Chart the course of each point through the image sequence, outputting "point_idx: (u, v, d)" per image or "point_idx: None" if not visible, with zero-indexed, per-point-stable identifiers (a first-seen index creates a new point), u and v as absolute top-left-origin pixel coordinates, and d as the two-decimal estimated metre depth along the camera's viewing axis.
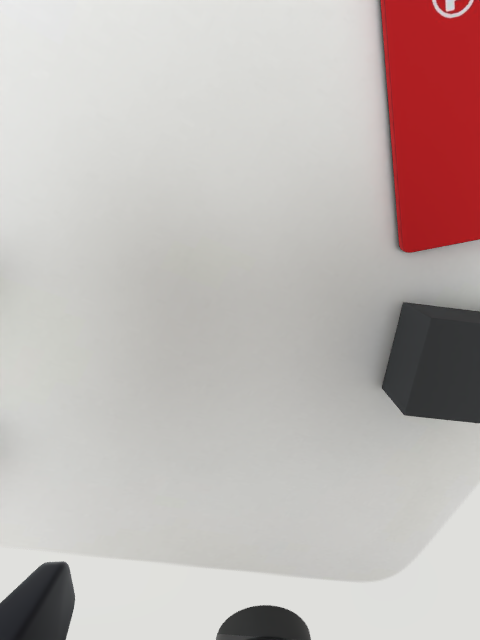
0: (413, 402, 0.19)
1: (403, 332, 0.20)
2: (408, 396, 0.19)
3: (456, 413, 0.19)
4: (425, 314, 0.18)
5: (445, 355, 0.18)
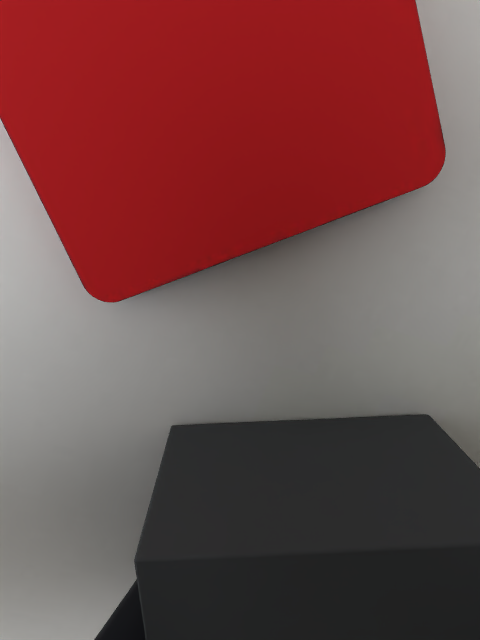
0: None
1: None
2: None
3: None
4: (147, 520, 0.05)
5: None
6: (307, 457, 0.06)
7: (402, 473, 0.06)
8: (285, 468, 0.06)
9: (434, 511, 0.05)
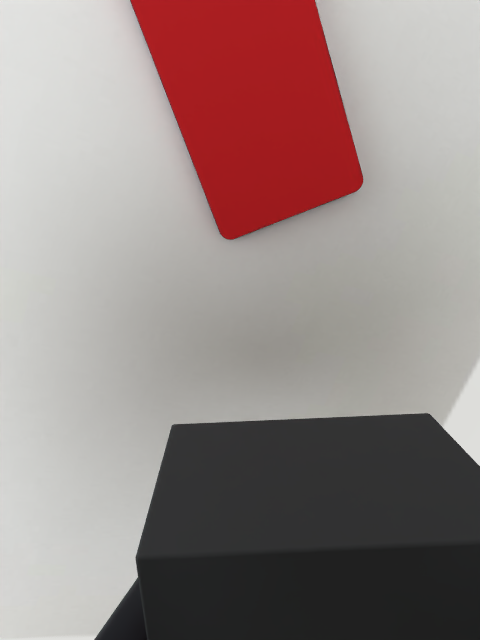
0: None
1: None
2: None
3: None
4: (149, 518, 0.05)
5: None
6: (308, 456, 0.06)
7: (402, 471, 0.06)
8: (286, 467, 0.06)
9: (435, 510, 0.05)
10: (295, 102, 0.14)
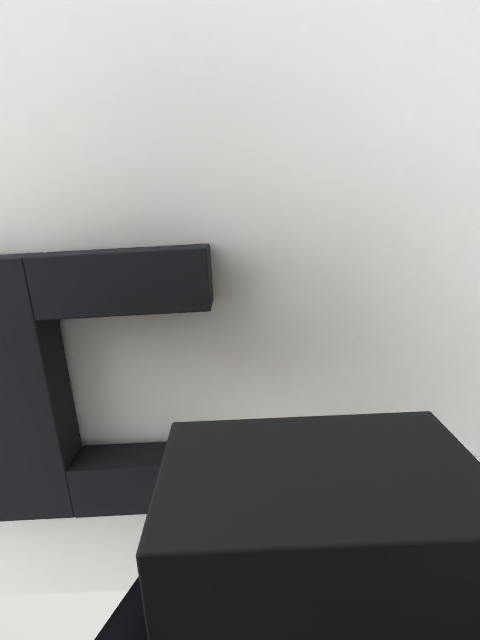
0: None
1: None
2: None
3: None
4: (149, 516, 0.05)
5: None
6: (309, 453, 0.06)
7: (404, 468, 0.06)
8: (287, 464, 0.06)
9: (437, 507, 0.05)
10: None
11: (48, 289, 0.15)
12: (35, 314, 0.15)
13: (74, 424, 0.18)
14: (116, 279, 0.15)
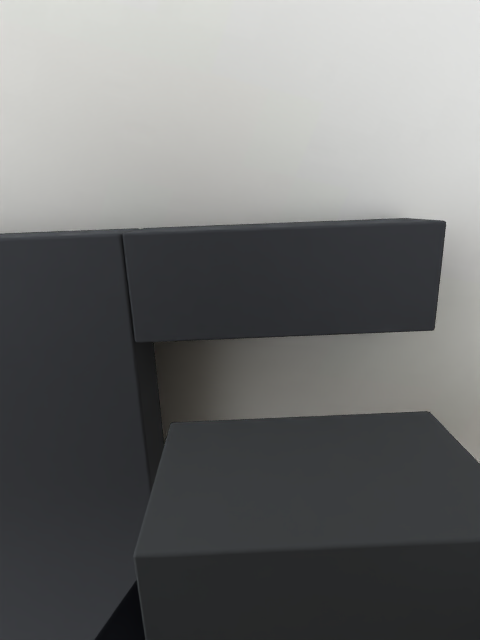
0: None
1: None
2: None
3: None
4: (147, 516, 0.05)
5: None
6: (307, 453, 0.06)
7: (402, 469, 0.06)
8: (285, 464, 0.06)
9: (435, 507, 0.05)
10: None
11: (163, 290, 0.09)
12: (136, 332, 0.09)
13: None
14: (282, 275, 0.09)
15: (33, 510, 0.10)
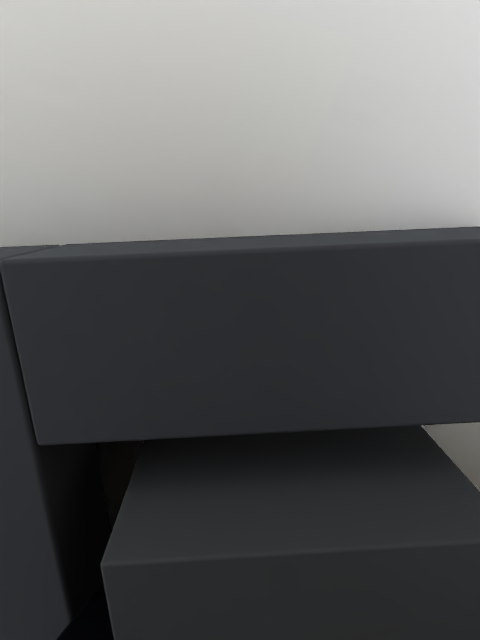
0: None
1: None
2: None
3: None
4: (117, 523, 0.05)
5: None
6: (284, 456, 0.06)
7: (379, 471, 0.06)
8: (261, 468, 0.06)
9: (408, 509, 0.05)
10: None
11: (80, 359, 0.05)
12: (38, 430, 0.05)
13: None
14: (291, 331, 0.05)
15: None
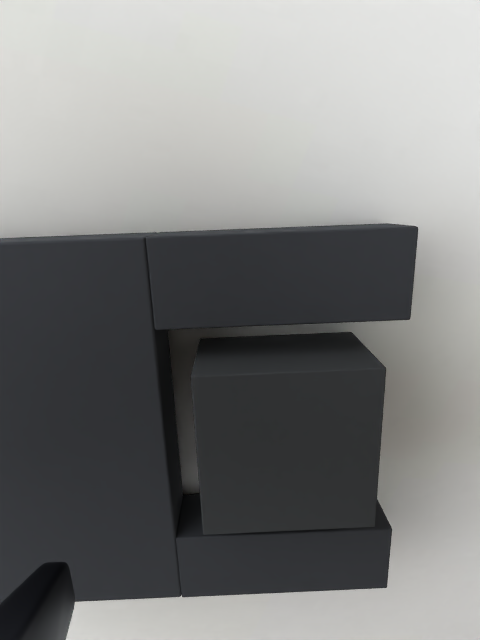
0: (210, 513, 0.11)
1: None
2: None
3: (290, 519, 0.11)
4: (194, 366, 0.10)
5: (238, 432, 0.10)
6: (277, 347, 0.12)
7: (326, 351, 0.11)
8: (265, 351, 0.11)
9: (337, 361, 0.10)
10: None
11: (179, 284, 0.10)
12: (156, 321, 0.10)
13: (178, 468, 0.14)
14: (279, 272, 0.10)
15: (64, 476, 0.12)
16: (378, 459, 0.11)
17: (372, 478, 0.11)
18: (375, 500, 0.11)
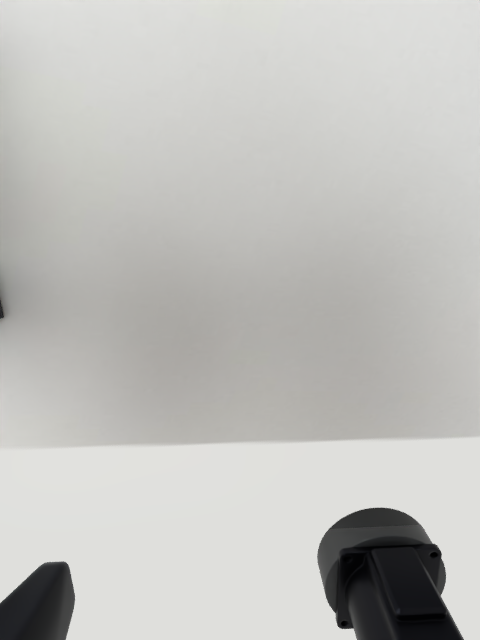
0: None
1: None
2: None
3: None
4: None
5: None
6: None
7: None
8: None
9: None
10: None
11: None
12: None
13: None
14: None
15: None
16: None
17: None
18: None
